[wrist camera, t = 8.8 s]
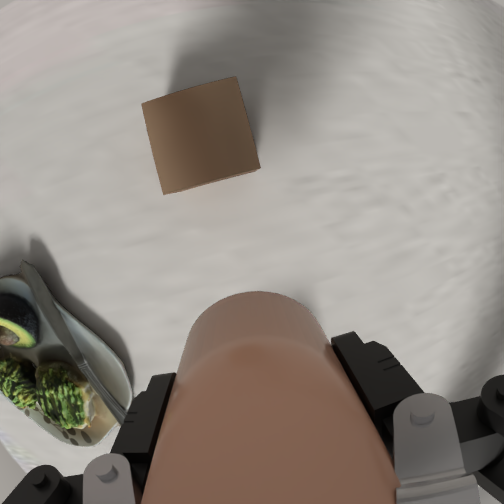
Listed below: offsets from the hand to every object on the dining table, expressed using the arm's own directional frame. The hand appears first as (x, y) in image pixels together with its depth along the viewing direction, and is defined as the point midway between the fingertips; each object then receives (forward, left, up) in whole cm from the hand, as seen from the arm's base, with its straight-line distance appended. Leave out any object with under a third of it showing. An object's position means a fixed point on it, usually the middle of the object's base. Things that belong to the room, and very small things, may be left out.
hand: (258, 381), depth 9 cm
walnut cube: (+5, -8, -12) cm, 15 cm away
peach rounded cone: (0, 0, -1) cm, 1 cm away
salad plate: (+16, +13, -13) cm, 24 cm away
